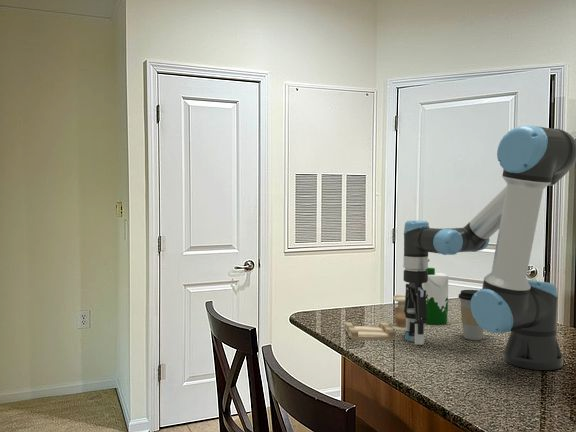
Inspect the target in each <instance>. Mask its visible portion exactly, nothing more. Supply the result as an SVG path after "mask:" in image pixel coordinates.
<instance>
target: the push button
mask: <svg viewBox="0 0 576 432" xmlns="http://www.w3.org/2000/svg"><path fill="white" fill-rule="evenodd" d="M405 317H406V318H407V330H406V331H404V340H405V342H415V324H414V322H415V321H416V316H415V309H414V308H409V309H407V311H405ZM409 319H410V329H409ZM426 337H427V336H426V335H424V341H426Z"/></svg>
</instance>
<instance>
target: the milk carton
mask: <svg viewBox="0 0 576 432" xmlns="http://www.w3.org/2000/svg"><path fill="white" fill-rule="evenodd" d="M426 270H427V271H428V281H427V282H426V283H422V288H423V290H426V312H427V323H425V324H424V325H427V326H428V325H429V326H434V325H436V326H447V323H448V311H449V275H448V274H445V273H444V272H436V268H434V267H428V268H427V269H426Z"/></svg>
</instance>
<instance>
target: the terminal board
mask: <svg viewBox="0 0 576 432" xmlns="http://www.w3.org/2000/svg"><path fill="white" fill-rule="evenodd" d="M344 330H345V332H346V333H347V335H348V336H349V338H350V339H351V340H352V341H396V337H397V336H396V330H395V329H393V328H391V325H389V324H388V323H387V322H386V321H379V322H378V325H375V326H374V325H371V326H370V325H369V326H368V325H364V326H363V325H361V326H360V325H359V326H356V325H355V326H354V325H353V323H352V322H351V321H345V322H344Z"/></svg>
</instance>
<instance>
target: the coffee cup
mask: <svg viewBox="0 0 576 432" xmlns="http://www.w3.org/2000/svg"><path fill="white" fill-rule="evenodd" d="M479 290H480V289H462V290H461V291H460V293H459V294H458V297H457V298H459V299H460V300H459V301H460V315H461V316H460V317H461V323H462V334H463V338H464V339H467V340H472V341H480V340H483V335H484V331H485V330H484V329H482V328H481V327H480V326H479V325H478V324H477V322H476V320H475V318H474V317H473V315H472V312H471V299H472V297H473V295H474V294H475V293H476V292H477V291H479Z"/></svg>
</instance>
